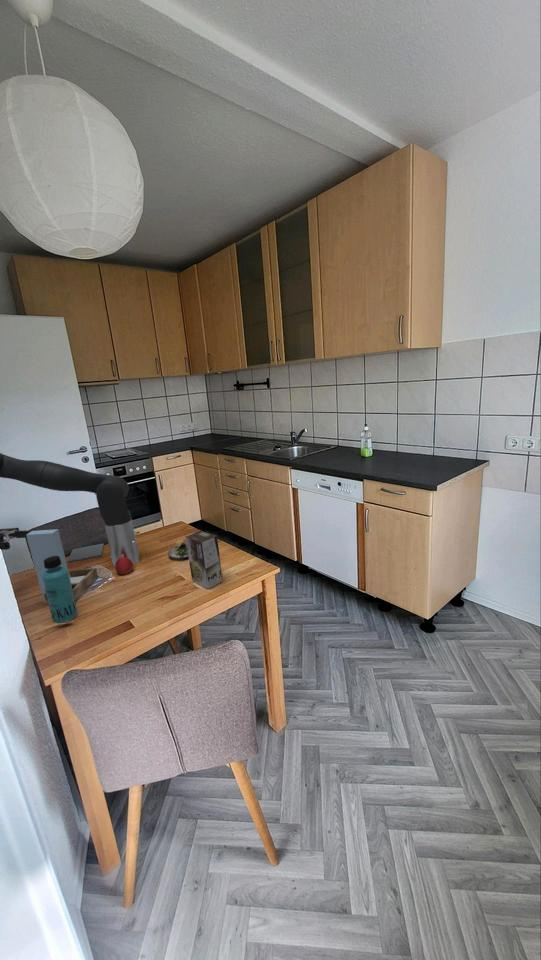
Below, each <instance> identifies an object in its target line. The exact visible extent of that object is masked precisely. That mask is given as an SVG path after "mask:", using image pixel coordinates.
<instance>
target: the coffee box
mask: <svg viewBox="0 0 541 960" xmlns="http://www.w3.org/2000/svg"><path fill="white" fill-rule="evenodd" d="M184 538H185V544H186V545H187V551H188V557H187V558H188V563H189V570H190V574H191V582H193V583H195V584H197V585H199V586H201V587H203V588H206V589H207V588H208V589H207V590H209V588H210V589H211V588H214V587H215V586H217V585H218V583H219V584H220V582H221V583H223V581H224V580H223V573H222V564H221V556H220V550H219V549H220V548H219V540H218V535H216V534H212V533H209V532H206V531H203V530H198V531H195V532H192V533H191V534H189V535H186V536H185V537H184ZM216 584H217V585H216Z"/></svg>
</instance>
